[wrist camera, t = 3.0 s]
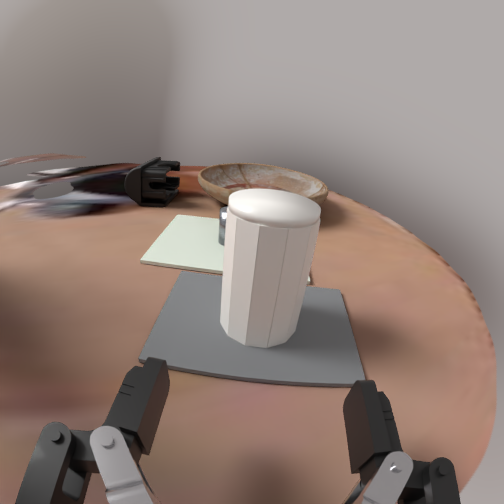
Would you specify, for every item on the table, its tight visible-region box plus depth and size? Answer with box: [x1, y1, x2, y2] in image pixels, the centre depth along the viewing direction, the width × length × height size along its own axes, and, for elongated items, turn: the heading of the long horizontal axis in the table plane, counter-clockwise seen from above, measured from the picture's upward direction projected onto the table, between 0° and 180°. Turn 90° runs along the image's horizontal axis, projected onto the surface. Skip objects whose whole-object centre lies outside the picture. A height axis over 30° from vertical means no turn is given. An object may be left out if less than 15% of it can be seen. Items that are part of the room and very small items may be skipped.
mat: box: [138, 271, 365, 387], centre depth 23 cm, size 16×12×1 cm
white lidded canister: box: [220, 189, 321, 348], centre depth 21 cm, size 6×6×10 cm
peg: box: [218, 206, 228, 246], centre depth 35 cm, size 3×3×4 cm
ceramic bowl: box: [198, 163, 328, 205], centre depth 52 cm, size 23×24×5 cm
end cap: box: [125, 157, 180, 207], centre depth 48 cm, size 10×7×7 cm
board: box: [140, 215, 310, 284], centre depth 36 cm, size 18×14×1 cm
